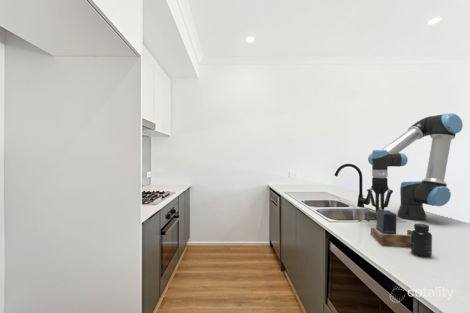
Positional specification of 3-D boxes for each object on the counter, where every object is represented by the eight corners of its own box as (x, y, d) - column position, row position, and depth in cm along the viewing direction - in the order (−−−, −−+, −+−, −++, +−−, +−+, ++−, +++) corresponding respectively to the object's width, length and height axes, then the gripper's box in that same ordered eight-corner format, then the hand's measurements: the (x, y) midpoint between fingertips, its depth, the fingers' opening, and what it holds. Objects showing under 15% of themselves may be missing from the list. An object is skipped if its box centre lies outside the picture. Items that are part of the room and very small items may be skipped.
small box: (397, 235, 128) (397, 214, 128) (382, 234, 129) (382, 213, 129) (389, 229, 138) (389, 209, 138) (375, 228, 140) (375, 209, 140)
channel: (410, 236, 126) (410, 226, 126) (428, 249, 109) (428, 237, 109) (370, 233, 130) (370, 224, 130) (382, 245, 113) (382, 234, 113)
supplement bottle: (407, 252, 105) (407, 223, 105) (418, 250, 107) (418, 221, 107) (424, 259, 98) (424, 228, 98) (436, 256, 101) (436, 226, 101)
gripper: (368, 177, 141) (368, 220, 141) (395, 178, 138) (395, 221, 138) (365, 176, 148) (365, 217, 148) (390, 176, 145) (390, 218, 145)
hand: (379, 219), depth 143 cm, fingers closed
